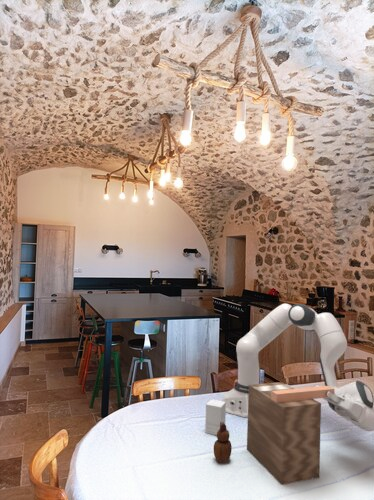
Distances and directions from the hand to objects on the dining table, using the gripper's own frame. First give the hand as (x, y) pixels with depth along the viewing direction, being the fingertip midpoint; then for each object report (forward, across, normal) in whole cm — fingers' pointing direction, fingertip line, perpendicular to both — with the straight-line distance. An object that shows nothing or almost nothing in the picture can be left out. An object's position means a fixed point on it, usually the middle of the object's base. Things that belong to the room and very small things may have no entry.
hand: (322, 390), depth 135 cm
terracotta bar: (+7, 0, +6) cm, 9 cm away
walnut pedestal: (-2, -6, +31) cm, 32 cm away
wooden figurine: (+16, -13, +42) cm, 47 cm away
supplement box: (+10, -36, +38) cm, 53 cm away
